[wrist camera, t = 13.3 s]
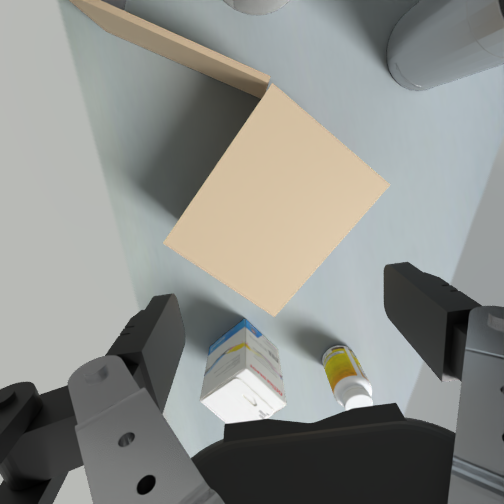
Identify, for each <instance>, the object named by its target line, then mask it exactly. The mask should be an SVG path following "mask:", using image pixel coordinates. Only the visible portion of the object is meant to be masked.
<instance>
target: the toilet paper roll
mask: <svg viewBox="0 0 504 504" xmlns="http://www.w3.org/2000/svg"><path fill="white" fill-rule="evenodd" d="M223 1H224V2H226V3H227V4H228V5H229V6H231V7H232V8H234V9H236V10H237V11H240V12H242V13H246V14H250V15H265V14H269V13H272V12H275V11H277V10H278V9H280V8H282V7H283V6H284V5H285V4H286V3H288V2H289V1H290V0H223Z"/></svg>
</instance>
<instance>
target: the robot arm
mask: <svg viewBox="0 0 504 504" xmlns="http://www.w3.org/2000/svg"><path fill="white" fill-rule="evenodd" d="M387 62H388V67H389V70H390V72H391V74H392V76H393V78H394V79H395V80H396V81H397V83H399V84H400V85H401V86H403V87H404V88H407V89H409V90H415V91H421V90H427V89H430V88H433V87H436V86H439V85H442V84H445V83H449V82H452V81H455V80H458V79H461V78H464V77H467V76H470V75H473V74H476V73H479V72H482V71H485V70H488V69H491V68H493V67H496V66H499V65H502V64H504V0H420V1H419V2H418V3H417V4H416V5H415V6H414V7H412V8H411V9H410V10H409V11H408V12H407V13H406V14H405V15H403V16H402V17H401V19H400V20H399V21H398V23H397V24H396V25H395V27H394V29H393V31H392V33H391V35H390V39H389V42H388V47H387ZM384 308H385V311H386V314H387V316H388V318H389V319H390V321H391V322H392V323H393V324H394V325H395V327H396V328H397V329H398V330H399V331H400V333H401V334H402V335H403V336H404V337H405V339H406V340H407V341H408V342H409V343H410V344H411V346H412V347H413V348H414V349H415V350H416V352H417V353H418V354H419V355H420V356H421V358H422V359H423V360H424V361H425V362H426V363H427V365H428V366H429V367H430V368H431V369H432V371H433V372H434V373H435V374H436V375H437V377H438V378H439V379H440V380H441V381H442V382H446V381H453V380H460V381H461V382H462V383H461V391H460V400H459V409H458V418H457V427H456V433H454V432H452V431H450V430H448V429H446V428H443V427H440V426H438V425H435V424H432V423H429V422H425V421H422V420H417V419H412V418H404V416H403V414H402V413H401V411H400V409H399V407H398V406H397V404H396V403H392V404H383V405H375V406H367V407H359V408H352V409H350V410H347V411H344V412H342V413H339V414H336V415H334V416H331V417H328V418H326V419H323V420H320V421H318V422H315V423H301V422H292V421H282V420H273V419H261V420H253V421H245V422H236V423H228V424H225V428H224V439H222V440H220V441H217V442H215V443H213V444H211V445H209V446H208V447H206V448H204V449H203V450H201V451H200V452H198V453H197V454H196V455H194V456H193V457H192V458H190V457H189V455H188V454H187V452H186V451H185V449H184V448H183V446H182V444H181V443H180V441H179V440H178V438H177V437H176V435H175V434H174V432H173V430H172V429H171V427H170V426H169V424H168V423H167V421H166V420H165V418H164V417H163V415H162V413H163V410H164V407H165V404H166V401H167V398H168V395H169V392H170V389H171V386H172V383H173V379H174V376H175V373H176V370H177V367H178V364H179V361H180V358H181V355H182V352H183V348H184V345H185V329H184V325H183V321H182V317H181V313H180V309H179V305H178V301H177V298H176V296H175V294H166V295H159V296H154V297H153V298H152V300H151V301H150V303H149V304H148V306H147V307H146V309H145V310H141V311H140V312H139V313H137V314H136V315H135V316H133V317H132V318H131V319H130V321H129V322H128V323H127V325H126V326H125V329H123V331H122V332H121V333H120V336H118V338H117V339H116V341H115V342H114V344H113V345H112V346H111V348H110V349H109V351H108V353H107V354H106V355H105V356H103V357H99V358H96V359H94V360H92V361H89V362H88V363H86V364H84V365H82V366H81V367H80V368H78V369H77V370H76V371H75V372H74V373H73V374H72V375H71V377H70V378H69V380H68V385H67V386H64V387H61V388H58V389H55V390H52V391H50V392H47V393H44V394H41V395H39V394H38V391H37V389H36V387H35V385H34V384H33V383H31V382H20V383H16V384H12V385H10V386H7V387H5V388H3V389H1V390H0V474H1V475H2V477H3V479H4V480H3V482H2V483H1V485H0V504H53V502H54V500H55V498H56V496H57V494H58V492H59V490H60V488H61V486H62V484H63V482H64V480H65V478H66V476H67V474H68V472H69V471H71V470H73V469H75V468H78V467H80V466H83V465H84V468H85V472H86V476H87V480H88V484H89V488H90V492H91V496H92V500H93V504H504V307H499V306H482V305H480V304H479V303H477V302H476V301H474V300H473V299H471V298H470V297H468V296H467V295H465V294H464V293H462V292H461V291H458V290H457V289H456V288H454V287H453V286H451V285H449V284H448V283H447V282H445V281H444V280H442V279H441V278H439V277H437V276H434V275H431V274H428V273H425V272H424V273H423V272H422V271H420V270H419V269H417V268H416V267H415V266H413V265H412V264H410V263H409V262H403V263H395V264H388V265H386V266H385V268H384Z"/></svg>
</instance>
